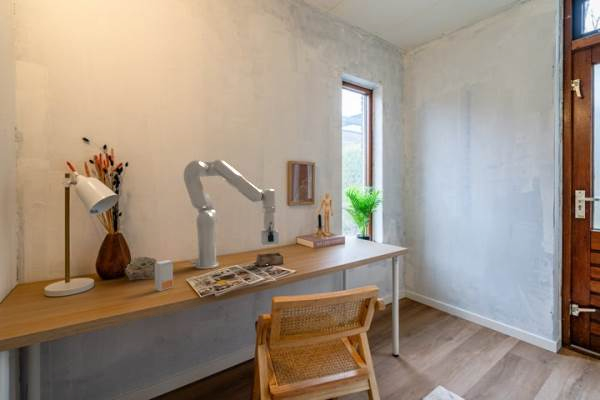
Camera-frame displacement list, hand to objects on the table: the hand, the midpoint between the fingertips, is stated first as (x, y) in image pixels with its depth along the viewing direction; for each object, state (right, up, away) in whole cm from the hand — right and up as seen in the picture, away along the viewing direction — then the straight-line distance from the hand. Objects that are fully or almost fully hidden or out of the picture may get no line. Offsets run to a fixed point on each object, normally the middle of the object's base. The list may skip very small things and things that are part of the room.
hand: (269, 240), depth 161 cm
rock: (-63, -15, -21) cm, 68 cm away
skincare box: (-42, -15, -41) cm, 60 cm away
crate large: (0, -13, 0) cm, 13 cm away
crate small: (0, -2, 0) cm, 2 cm away
